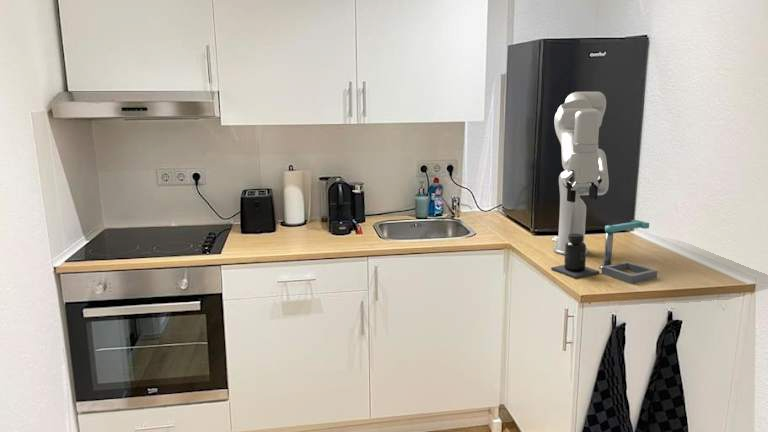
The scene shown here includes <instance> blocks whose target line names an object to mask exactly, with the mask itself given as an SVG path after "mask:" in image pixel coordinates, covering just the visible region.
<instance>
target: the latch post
mask: <svg viewBox="0 0 768 432" xmlns="http://www.w3.org/2000/svg"><path fill="white" fill-rule="evenodd" d="M604 241H605V242H604V256H603V263H602V264H599V266H598V269H599V270H601V271H602V266H607V265H612V259H613V258H612V257H613V245H614V233H609V232H605V240H604Z"/></svg>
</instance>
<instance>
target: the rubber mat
mask: <svg viewBox="0 0 768 432" xmlns="http://www.w3.org/2000/svg"><path fill="white" fill-rule="evenodd" d="M550 269H551V271H554V272H557V273H558V274H561V275H565V276H566V277H570V278H573V279H580V278H585V277H588V276H589V277H590V276H593V275H599V274H600V270H596V269H594V268H590V267H588V266H586V265H585V270H584V271H580V272H573V271H568V270H566V269H565V268H564V264H562V265H558V266H552V267H551V268H550Z"/></svg>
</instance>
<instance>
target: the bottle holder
mask: <svg viewBox="0 0 768 432" xmlns="http://www.w3.org/2000/svg"><path fill="white" fill-rule="evenodd" d="M625 271H628V272H625ZM629 272H632V273H629ZM601 275H605V276H607V277H611V278H613V279H616V280H619V281H621V282H625V283H627V284H630V285H633V284H636V283H642V282H645V281H650V280H654V279H657V278H658V270H656V269H653V268H651V267H646V266H643V265H641V264H636V263H635V262H634V263H633V262H630V261H628V260H627V261H622V262H618V263H613V264H612V263H611V265H607V266H602V270H601Z"/></svg>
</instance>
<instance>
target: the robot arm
mask: <svg viewBox="0 0 768 432" xmlns="http://www.w3.org/2000/svg"><path fill="white" fill-rule="evenodd" d="M564 100H565V101H564V103H563V104H560V106H559V107H557V111H556V112H555V115H554V121H553V123H554V130H555V135H556V136H557V139H558V141H559V144H560V146H561V147H560V148H561V149H560V150H561V165H562V168H563V171H561V172H560V174H559V176H558V187H559V188H558V189H559V218H558V219H559V220H558V236H557V235H556V236H554V238H552V239H551V241H552V242H553V243H555V245H554V246H553V247H552V248H553V251H554V252H555V253H557V254H560V255H564V256H565V244H566V243H567V242H569V240H568V235H569V234H582V235H583V239H584V240H583V243H585V239H586V238H585V235H586V222H587V220H586V219H587V205H586V203H585V202H584V200H583V199H582V198H581V197H580V196H588V198H589V199H590V200H591V199H592V200H598V196H603V195H605V194H606V193H607V192H608V190H609V187H610V186H609V184H610V183H609V181H610V180H609V179H610V178H609V172H608V171H609V170H608V162H607V161H608V160H607V155H606V153H605V151H604V150H603V149H601V148H599V135H600V134H599V132H600V130H599V129H600V127H601V126H602V123H603V118H604V115H605V112H606V107H607V98H606V96H605V94H604V93H602V92H601V91H574V92H572V93H570V94H568V95H567V97H566V98H565V99H564ZM588 253H589V249H588V248H587V247H586V255H588Z"/></svg>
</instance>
